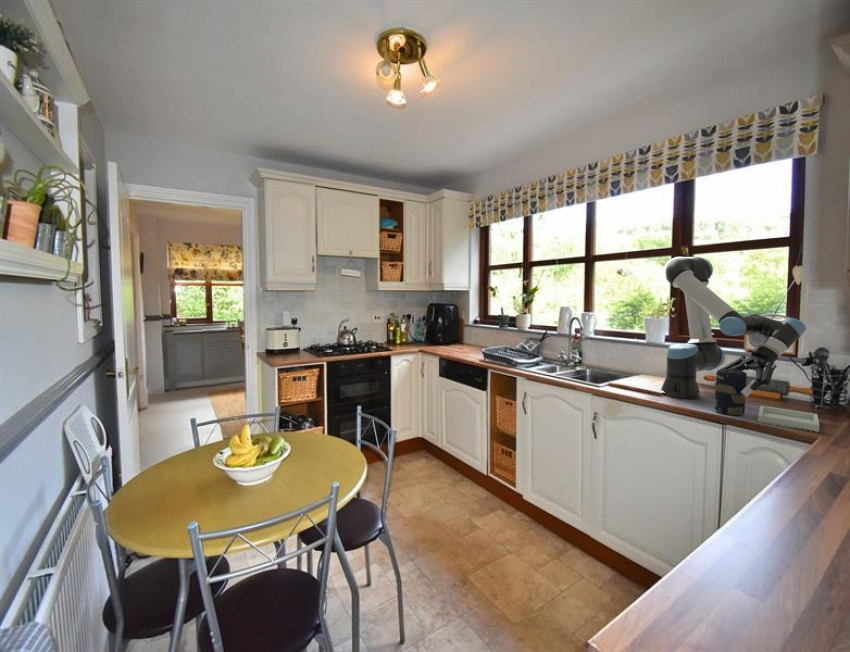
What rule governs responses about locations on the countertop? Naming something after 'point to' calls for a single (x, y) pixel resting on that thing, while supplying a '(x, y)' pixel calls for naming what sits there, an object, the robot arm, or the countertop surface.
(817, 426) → the tray
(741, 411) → the canister
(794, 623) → the countertop surface
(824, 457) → the countertop surface
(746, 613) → the countertop surface
